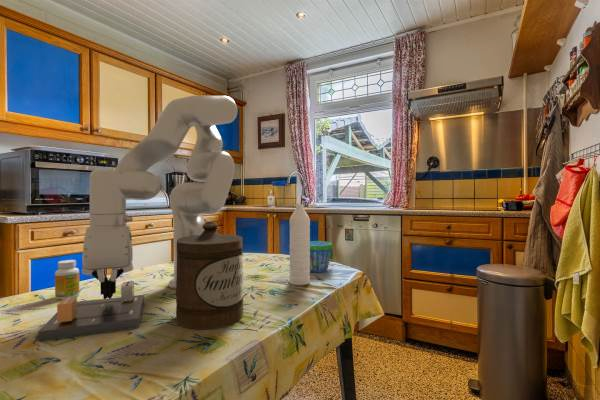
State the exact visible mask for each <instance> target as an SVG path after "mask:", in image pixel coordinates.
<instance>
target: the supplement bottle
mask: <svg viewBox="0 0 600 400" xmlns="http://www.w3.org/2000/svg"><path fill="white" fill-rule="evenodd" d="M76 266H77V261H76V259H67V260H60V261H58V262H57V268H58V269H57V270H56V271H55V272H54V285H55V286H54V290H55V291H54V297H55V299H56V300H63V299H66V298H76V297H78V296H79V295H80V270H79V268H78V267H76Z"/></svg>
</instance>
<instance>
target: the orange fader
mask: <svg viewBox="0 0 600 400" xmlns="http://www.w3.org/2000/svg"><path fill="white" fill-rule="evenodd" d="M77 297H78V296H76V297H74V298H66V299H61V300H60V301H59V302H58V303H57V304H56V313H57V323H59V322H67V321H72V320H73V319H74V317H75V316H76V315H77V302H78V298H77Z"/></svg>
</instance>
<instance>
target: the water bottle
mask: <svg viewBox="0 0 600 400" xmlns="http://www.w3.org/2000/svg"><path fill="white" fill-rule="evenodd" d="M295 205H296V206H295V209H294V211H293V213H292V214H291V216H290V218H289V284H291V285H293V286H307V285H309V284H310V283H311V275H310V274H311V272H310V241H311V238H310V237H311V227H310V226H311V219H310V217H309V215H308V213H307V212H306V210H305V208H304V207H305V206H304V204H301V203H298V204H295ZM307 207H308V208H317V204H316V203H309V204H308V206H307Z"/></svg>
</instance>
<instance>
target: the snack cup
mask: <svg viewBox="0 0 600 400" xmlns="http://www.w3.org/2000/svg"><path fill="white" fill-rule="evenodd" d="M334 256H335V255H334V248H333V244H332V242H329V241H323V240H313V241H311V240H310V273H315V274H316V273H317V274H318V273H326V272H328V270H329V263H330V260H332V259H333V258H334Z"/></svg>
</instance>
